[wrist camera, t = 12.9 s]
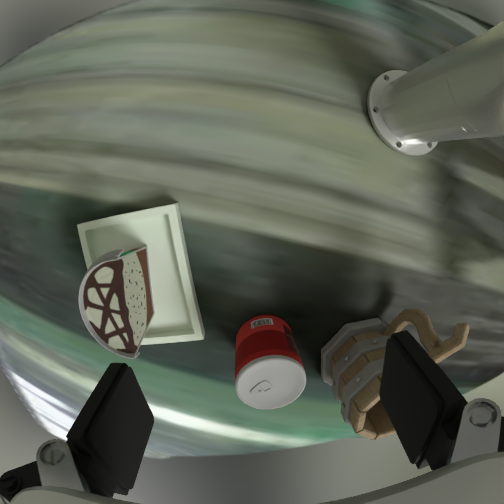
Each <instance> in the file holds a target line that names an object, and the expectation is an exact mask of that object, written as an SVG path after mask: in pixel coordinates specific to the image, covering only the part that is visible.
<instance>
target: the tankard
mask: <svg viewBox="0 0 504 504" xmlns="http://www.w3.org/2000/svg"><path fill="white" fill-rule="evenodd" d="M408 324H414V325H415V326H416V328H417V331H418V334H419V337H420V341H421V342H422V344H423V345H424V346H425V348H426V349H427V351H428V352H429V354H428V355H429V356H430V357H431V359H433V360H434V361H435V362H436V364H437V363H439V362H440V361H442V360H443V359H445V358H446V357H448V356H449V355H451V354H453V353H455V352H456V351H458V350H460V349H461V348H463V347H464V346H465V343H466V339H467V336H468V332H469V328H470V327H469V326H468V325H467V323H458V324H456V327H455V331H454V335H453V337H451V338H449V339H447V340H445V341H443V342H442V341H441V340H440V339H439V337H438V336H437V335H436V334H435V331H434V328H433V326H432V323H431V320H430V318H429V317H428V316H427V315H426V314H425V313H423V312H422V311H421V310H419V309H404V310H403V311H402V312H401V313H400V314H399V315H398V316H397V317H396V318H395V319H394V320H393V321H392V322H391V324H390V325H389V326H387V325H385V324H384V323H383V322H382V321H381V320H380V319H378V318H373V319H368V320H363V321H358V322H353V323H348V324H345V325H344V326H343V327H342V328H341V329H340V330H339V331H338V332H337V333H336V335H335V336H334V337H333V338H332V339H331V340H330V341H329V342H328V343H327V344H326V345H325V346H324V347H323V348H322V349H321V377H322V380H323V381H324V382H326V383H327V384H329V385H331V386H332V392H333V394H334V397H335V399H336V400H338V401H340V402H342V404H341V414H342V416H343V419H344V421H345V422H346V423H348V424H350V425H352V427H353V429H354V432H355V433H356V434H359V435H361V436H364V437H366V438H369V439H371V440H376V439H379V438H383V437H385V436H389V435H392V434H395V433H396V431H395V429H394V427H393V424H392V422H391V420H390V418H389V416H388V414H387V412H386V410H385V408H384V406H383V404H382V402H381V400H380V396H379V390H380V384H381V378H382V372H383V365H384V358H385V351H386V342H387V339H388V338H391V335H392V334H393V333H397V332H400V331H401V330H402V329H403V328H404V327H405V326H406V325H408Z"/></svg>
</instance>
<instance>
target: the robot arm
mask: <svg viewBox="0 0 504 504" xmlns="http://www.w3.org/2000/svg"><path fill="white" fill-rule="evenodd" d="M367 108H368V114H369V117H370V120H371V123H372V125H373V127H374V129H375V131H376V132H377V134H378V135H379V137H380V138H381V139H382V140H383V141H384V142H385V144H387V145H388V146H389V147H390V148H392V149H393V150H395V151H397V152H398V153H401V154H404V155H410V156H417V155H423V154H426V153H428V152H429V151H431V150H432V149H433V148H434V147H435V146H436V145H437V143H438V142H439V141H448V140H457V139H468V138H480V137H495V136H503V135H504V20H503V21H502V22H501V23H499V24H498V25H496V26H495V27H493V28H492V29H490V30H488V31H487V32H485V33H484V34H482V35H480V36H478V37H476V38H474V39H472V40H470V41H468V42H466V43H464V44H462V45H460V46H458V47H456V48H454V49H452V50H450V51H448V52H446V53H444V54H442V55H440V56H438V57H436V58H434V59H432V60H430V61H428V62H426V63H424V64H422V65H421V66H419V67H417V68H415V69H413V70H411V71H409V72H407V71H403V70H391V71H387V72H385V73H383V74H381V75H380V76H378V77H377V78H376V79H375V80H374V81H373V83H372V84H371V86H370V88H369V92H368V96H367ZM373 110H374V111H375V112H374V111H373ZM396 144H397V145H396ZM379 396H380V400H381V402H382V404H383V406H384V408H385V410H386V412H387V414H388V416H389V418H390V420H391V422H392V424H393V427H394V429H395V431H396V433H397V435H398V437H399V439H400V441H401V443H402V445H403V448H404V450H405V452H406V454H407V456H408V458H409V460H410V462H411V463H412V464H414V463H415V464H416V466H417V468H418V469H421V468H423V467H425V466H428V465H429V466H430V468H431V470H433V471H431V472H428V473H426V474H423V475H421V476H418V477H416V478H413V479H410V480H407V481H404V482H401V483H398V484H395V485H392V486H389V487H386V488H382V489H379V490H376V491H372V492H369V493H365V494H361V495H357V496H353V497H349V498H345V499H340V500H336V501H331V502H325V503H320V504H504V417H502V416H501V410H500V408H499V406H498V405H497V404H496V403H495V402H493V401H491V400H489V399H485V398H478V399H474V400H472V401H470V402H469V403H468V402H467V401H466V400H465V398H464V397H463V396H462V395H461V393H460V392H459V391H458V389H457V388H456V387H455V386H454V384H453V383H452V382H451V381H450V379H449V378H448V377H447V376H446V374H445V373H444V372H443V371H442V370H441V368H440V367H439V366H438V365H437V364H436V362H435V361H434V360H433V359H431V357H430V356H429V355H428V354H427V353H426V351H425V350H424V349H423V348H422V347H421V346H420V344H419V343H418V342H417V341H416V340H415V339H414V337H413V336H412V335H411V334H410V333H409V332H408V331H407V330H405V331H401V332H397V333H393V334H392V335H391V338H388V339H387V342H386V351H385V358H384V365H383V372H382V378H381V384H380V390H379ZM153 424H154V417H153V414H152V412H151V410H150V408H149V406H148V404H147V401H146V399H145V397H144V395H143V393H142V391H141V388H140V386H139V384H138V382H137V379H136V377H135V375H134V372H133V370H132V368H131V367H128V365H127V364H125V363H111V364H110V365H109V367H108V368H107V370H106V371H105V373H104V375H103V376H102V378H101V379H100V381H99V382H98V384H97V386H96V387H95V389H94V390H93V392H92V394H91V395H90V397H89V399H88V400H87V402H86V404H85V405H84V407H83V408H82V410H81V412H80V414H79V415H78V417H77V419H76V420H75V422H74V424H73V425H72V427H71V429H70V431H69V432H68V434H67V436H66V437H67V438H68V440H67V442H64V441H63V440H60V439H52V440H48V441H46V442H45V443H43V444H42V445H41V446H40V447H39V449H38V451H37V454H36V460H37V461H34V462H32V463H29V464H26V465H24V466H21V467H18V468H16V469H13V470H10V471H8V472H5V473H4V474H3V475H2V476H1V477H0V504H139V503H133V502H128V501H123V500H117V499H113V494H114V493H117V494H122V495H127V494H128V491H129V489H132V488H133V486H134V483H135V480H136V477H137V473H138V470H139V467H140V464H141V461H142V458H143V455H144V451H145V448H146V445H147V442H148V439H149V436H150V433H151V430H152V427H153Z"/></svg>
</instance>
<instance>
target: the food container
mask: <svg viewBox="0 0 504 504" xmlns="http://www.w3.org/2000/svg"><path fill="white" fill-rule="evenodd" d="M123 251H124V249H120V250H114V251H110V252H108V253H106V254H104V255H102V256H100V257H99V258H98V259H96V260H95V261H94V263H93V264H92V265H91V266H90V267H89V269H88V270H87V272H86V273H85V275H84V277H83V279H82V282H81V285H80V290H79V308H80V313H81V316H82V319H83V321H84V323H85V325H86V327H87V329H88V330H89V332H90V333H91V334H92V336H93V337H94V338H95V339H96V340H97V341H98V342H99V343H100V344H101V345H102V346H104V347H105V348H106V349H108V350H109V351H111V352H113V353H115V354H117V355H119V356H123V357H126V358H131V359H134V358H136V357H137V356H138V355H139V354H140V352H138V349H139V347H140V345H141V342H142V340H143V338H144V336H145V333H146V331H147V329H148V327H149V324H150V322H151V320H152V318H153V316H154V313H155V310H154V303H153V295H152V287H151V278H150V268H149V258H148V246H142V247H137V248H135V249H132V250H130V251H127V252H124V253H122V252H123ZM121 253H122V254H121Z"/></svg>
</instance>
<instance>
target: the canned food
mask: <svg viewBox="0 0 504 504" xmlns="http://www.w3.org/2000/svg"><path fill="white" fill-rule="evenodd" d="M305 385H306V374H305V370H304V367H303V364H302V361H301V358H300V355H299V352H298V349H297V346H296V343H295V340H294V337H293V334H292V331H291V329H290V327H289V325H288V324H287V323H286V322H285V321H284V320H282V319H281V318H279V317H277V316H274V315H258V316H255V317H253V318H251V319H249V320H248V321H246V322H245V323H244V324H243V325H242V326H241V328H240V330H239V331H238V333H237V336H236V353H235V387H236V393H237V395H238V397H239V398H240V399H241V400H242V401H243V402H244V403H245V404H247V405H249V406H251V407H254V408H257V409H275V408H279V407H283V406H285V405H287V404H289V403H291V402H293V401H294V400H295V399H296V398H298V397H299V396H300V394H301V393H302V392H303V390H304V388H305Z"/></svg>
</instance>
